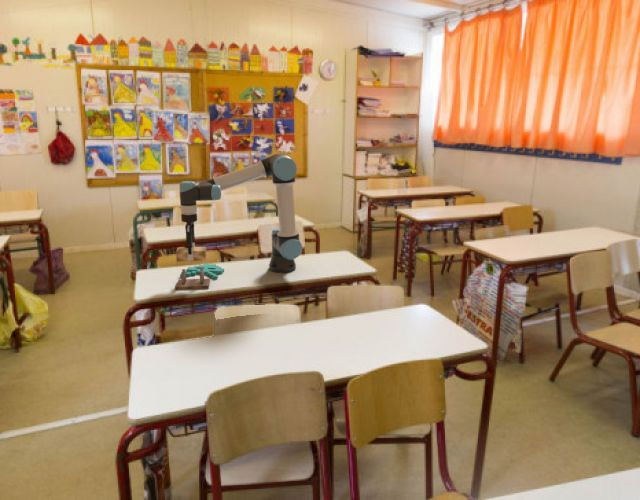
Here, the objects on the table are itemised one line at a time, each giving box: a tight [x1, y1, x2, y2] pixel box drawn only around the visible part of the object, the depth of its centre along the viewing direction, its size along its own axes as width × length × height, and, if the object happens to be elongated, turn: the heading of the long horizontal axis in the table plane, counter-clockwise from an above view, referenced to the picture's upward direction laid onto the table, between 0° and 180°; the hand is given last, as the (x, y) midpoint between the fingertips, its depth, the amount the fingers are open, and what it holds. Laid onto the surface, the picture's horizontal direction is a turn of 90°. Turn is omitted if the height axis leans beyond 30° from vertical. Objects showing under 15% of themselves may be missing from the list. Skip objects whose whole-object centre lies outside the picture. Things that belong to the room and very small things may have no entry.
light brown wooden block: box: [175, 246, 207, 263], centre depth 243 cm, size 14×8×5 cm, turn 101°
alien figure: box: [179, 263, 225, 280], centre depth 267 cm, size 20×2×20 cm
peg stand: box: [175, 268, 211, 291], centre depth 247 cm, size 16×11×8 cm
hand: (191, 257), depth 244 cm, fingers closed on light brown wooden block, 8 cm apart
